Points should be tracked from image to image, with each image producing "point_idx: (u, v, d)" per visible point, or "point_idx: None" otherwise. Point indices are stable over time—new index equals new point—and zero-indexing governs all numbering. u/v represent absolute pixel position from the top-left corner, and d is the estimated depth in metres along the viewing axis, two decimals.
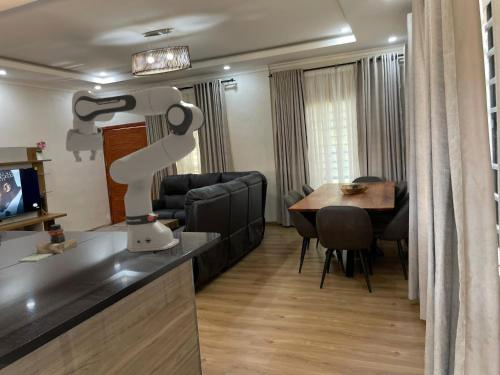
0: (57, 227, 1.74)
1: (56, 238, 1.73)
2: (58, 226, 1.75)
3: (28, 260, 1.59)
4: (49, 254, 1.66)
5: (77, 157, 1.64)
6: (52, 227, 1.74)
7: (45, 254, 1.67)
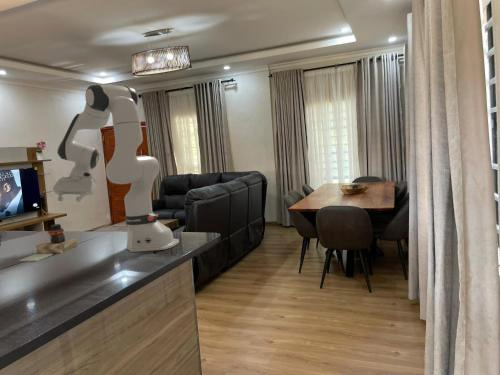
0: (57, 227, 1.74)
1: (56, 238, 1.73)
2: (58, 226, 1.75)
3: (28, 260, 1.59)
4: (49, 254, 1.66)
5: None
6: (52, 227, 1.74)
7: (45, 254, 1.67)
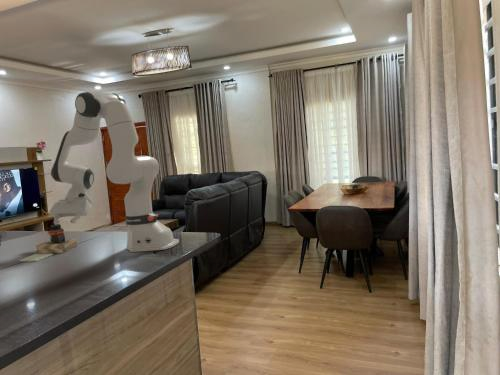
0: (57, 227, 1.74)
1: (56, 238, 1.73)
2: (58, 226, 1.75)
3: (28, 260, 1.59)
4: (49, 254, 1.66)
5: None
6: (52, 227, 1.74)
7: (45, 254, 1.67)
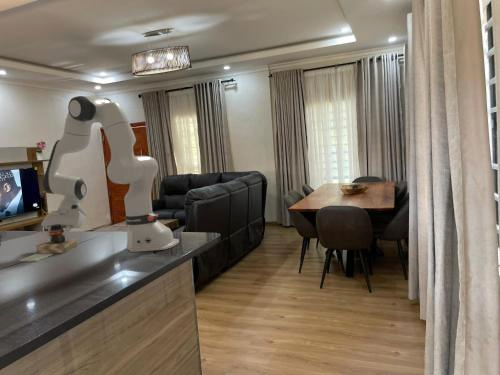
0: (57, 227, 1.74)
1: (56, 238, 1.73)
2: (58, 226, 1.75)
3: (28, 260, 1.59)
4: (49, 254, 1.66)
5: None
6: (52, 227, 1.74)
7: (45, 254, 1.67)
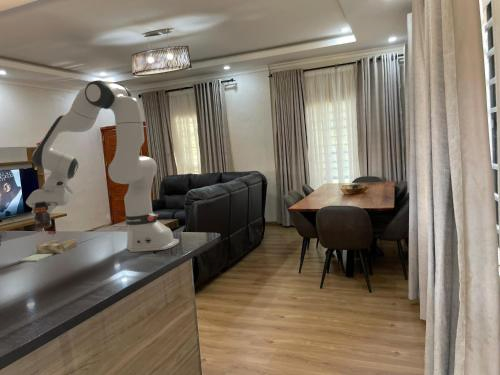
0: (41, 204, 1.67)
1: (40, 215, 1.66)
2: (43, 203, 1.67)
3: (28, 260, 1.59)
4: (49, 254, 1.66)
5: None
6: (36, 204, 1.66)
7: (45, 254, 1.67)
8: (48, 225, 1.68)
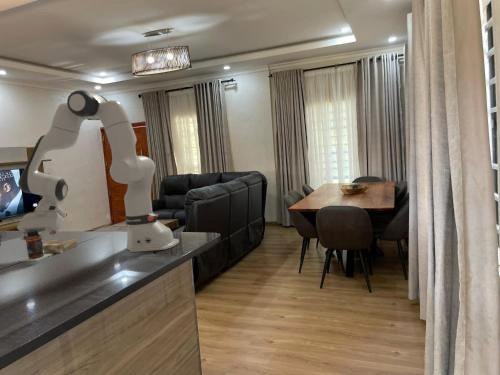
0: (34, 233, 1.61)
1: (32, 245, 1.60)
2: (35, 232, 1.62)
3: (28, 260, 1.59)
4: (49, 254, 1.66)
5: None
6: (28, 233, 1.61)
7: (45, 254, 1.67)
8: (41, 254, 1.63)
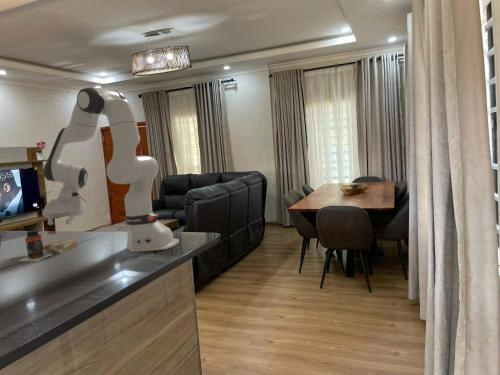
0: (34, 233, 1.61)
1: (32, 245, 1.60)
2: (35, 232, 1.62)
3: (28, 260, 1.59)
4: (49, 254, 1.66)
5: None
6: (28, 233, 1.61)
7: (45, 254, 1.67)
8: (41, 254, 1.63)
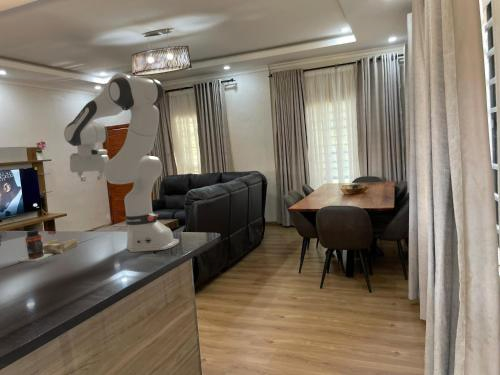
0: (34, 233, 1.61)
1: (32, 245, 1.60)
2: (35, 232, 1.62)
3: (28, 260, 1.59)
4: (49, 254, 1.66)
5: None
6: (28, 233, 1.61)
7: (45, 254, 1.67)
8: (41, 254, 1.63)
